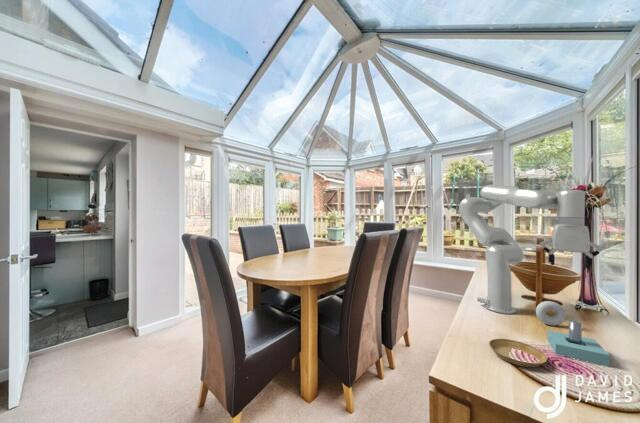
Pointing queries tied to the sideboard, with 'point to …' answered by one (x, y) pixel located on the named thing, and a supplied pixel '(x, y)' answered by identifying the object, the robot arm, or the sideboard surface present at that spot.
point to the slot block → (578, 348)
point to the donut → (559, 311)
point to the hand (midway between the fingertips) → (569, 266)
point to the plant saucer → (505, 346)
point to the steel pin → (575, 332)
